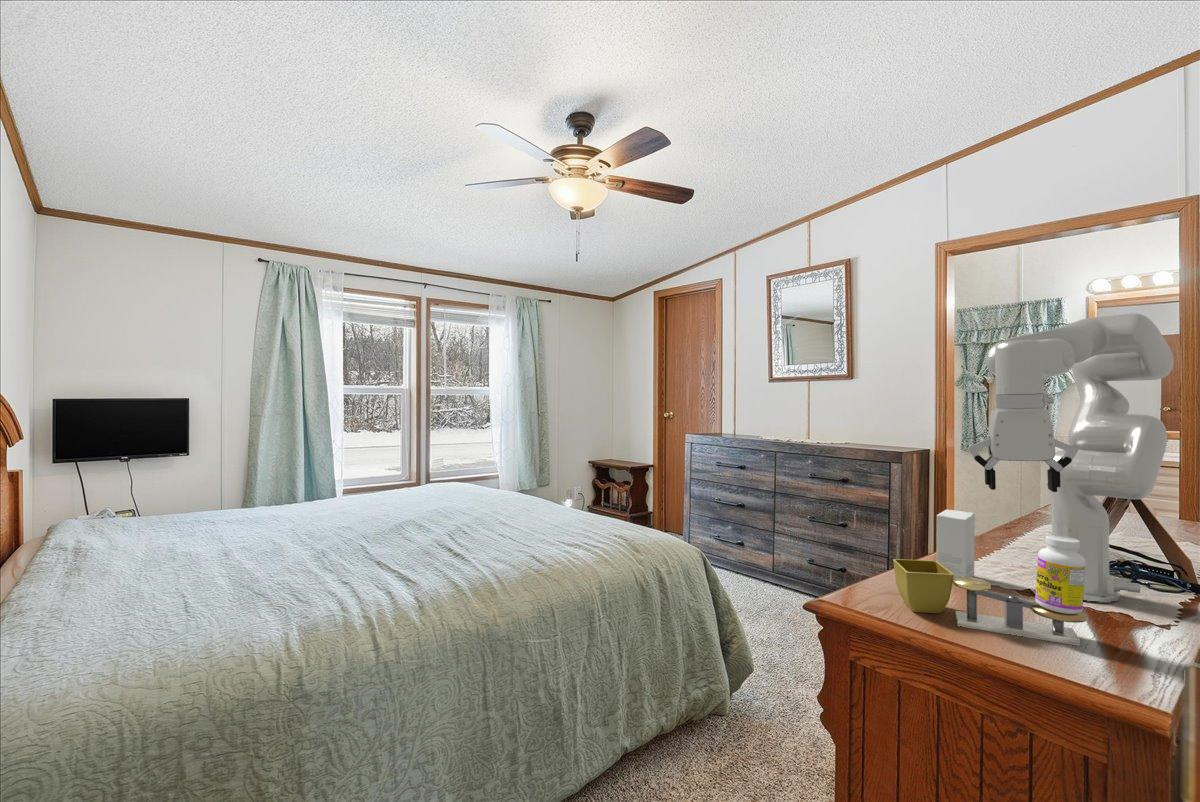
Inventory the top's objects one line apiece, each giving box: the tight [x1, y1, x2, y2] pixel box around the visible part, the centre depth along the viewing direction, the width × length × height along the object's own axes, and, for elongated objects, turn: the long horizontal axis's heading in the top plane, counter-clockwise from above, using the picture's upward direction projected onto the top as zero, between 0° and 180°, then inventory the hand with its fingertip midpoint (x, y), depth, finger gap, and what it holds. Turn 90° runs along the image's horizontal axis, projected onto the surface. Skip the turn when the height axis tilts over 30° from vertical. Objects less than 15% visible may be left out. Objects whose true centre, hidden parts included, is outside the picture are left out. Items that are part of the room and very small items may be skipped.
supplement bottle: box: [1034, 534, 1086, 614], centre depth 99 cm, size 7×7×13 cm
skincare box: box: [936, 508, 976, 578], centre depth 132 cm, size 8×7×16 cm
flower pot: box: [892, 558, 953, 614], centre depth 113 cm, size 9×9×9 cm
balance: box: [952, 576, 1088, 647], centre depth 102 cm, size 20×8×8 cm, turn 61°
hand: (1021, 489), depth 107 cm, fingers open, 9 cm apart
